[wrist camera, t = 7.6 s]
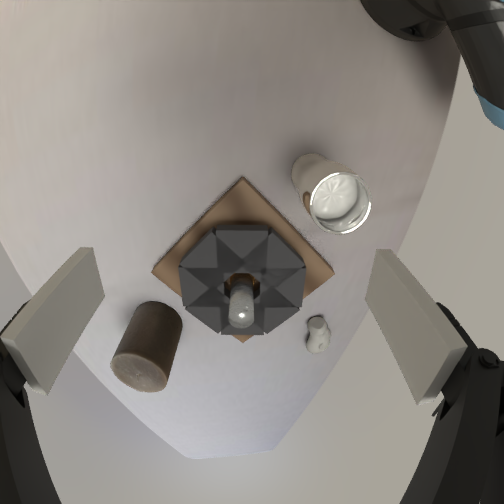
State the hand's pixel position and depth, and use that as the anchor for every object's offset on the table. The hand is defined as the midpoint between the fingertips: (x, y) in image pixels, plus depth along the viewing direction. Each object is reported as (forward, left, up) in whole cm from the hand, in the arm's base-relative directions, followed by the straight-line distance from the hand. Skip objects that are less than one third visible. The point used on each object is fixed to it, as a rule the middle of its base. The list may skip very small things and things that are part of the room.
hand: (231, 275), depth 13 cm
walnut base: (+12, +12, -31) cm, 35 cm away
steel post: (+12, +12, -29) cm, 33 cm away
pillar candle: (+32, +9, -31) cm, 45 cm away
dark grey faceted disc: (+12, +12, -27) cm, 32 cm away
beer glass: (-6, +8, -31) cm, 32 cm away
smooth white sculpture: (+12, +32, -31) cm, 46 cm away
